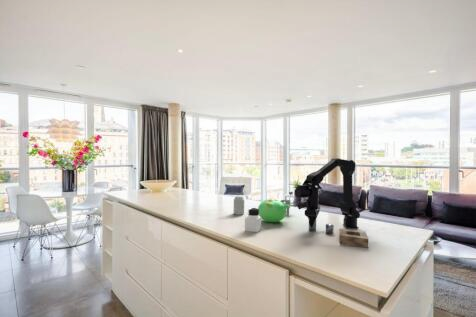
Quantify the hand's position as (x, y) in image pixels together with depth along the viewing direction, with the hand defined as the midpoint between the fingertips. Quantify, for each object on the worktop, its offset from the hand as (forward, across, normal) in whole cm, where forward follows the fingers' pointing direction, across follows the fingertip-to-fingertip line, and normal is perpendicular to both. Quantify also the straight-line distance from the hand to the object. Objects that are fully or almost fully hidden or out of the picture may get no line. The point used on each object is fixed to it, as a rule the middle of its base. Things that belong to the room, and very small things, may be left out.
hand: (312, 225), depth 134 cm
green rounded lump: (+3, -7, -25) cm, 26 cm away
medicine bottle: (+3, +14, -30) cm, 33 cm away
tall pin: (+3, 0, 0) cm, 3 cm away
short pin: (+3, 0, +9) cm, 9 cm away
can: (+3, -16, -52) cm, 55 cm away
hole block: (+3, +9, +20) cm, 22 cm away
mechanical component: (+3, -32, -21) cm, 38 cm away
